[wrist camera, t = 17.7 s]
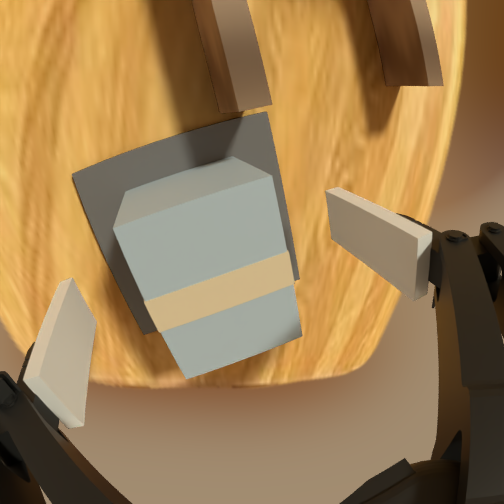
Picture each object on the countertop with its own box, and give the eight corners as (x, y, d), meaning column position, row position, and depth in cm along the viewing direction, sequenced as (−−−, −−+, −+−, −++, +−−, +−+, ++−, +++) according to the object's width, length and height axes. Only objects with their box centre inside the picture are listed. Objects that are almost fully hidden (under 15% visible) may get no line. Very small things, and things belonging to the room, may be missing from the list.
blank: (124, 191, 16) (111, 229, 10) (233, 155, 17) (273, 175, 11) (172, 310, 19) (185, 380, 14) (263, 278, 20) (303, 336, 15)
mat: (73, 173, 15) (71, 174, 14) (265, 111, 16) (266, 111, 16) (143, 332, 20) (143, 334, 19) (297, 276, 21) (299, 278, 21)
